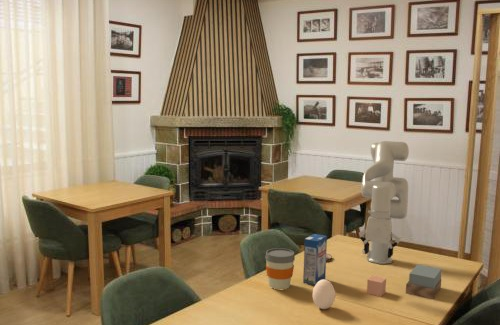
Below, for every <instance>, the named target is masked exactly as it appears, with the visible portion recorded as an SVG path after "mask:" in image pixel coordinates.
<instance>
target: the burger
mask: <svg viewBox="0 0 500 325" xmlns="http://www.w3.org/2000/svg"><path fill="white" fill-rule="evenodd" d="M330 259H331V260H332V254H329V253H327V252H326V263H329V262H330Z"/></svg>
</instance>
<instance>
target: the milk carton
mask: <svg viewBox="0 0 500 325" xmlns="http://www.w3.org/2000/svg"><path fill="white" fill-rule="evenodd" d="M327 243H328V236H327V235H323V234H319V233H313V234H311V235H309V236H308V237H305V238H304V244H303V245H304V250H303V276H302V277H303V278H302V279H303V282H302V283H303V284H305V283H307V284H306V285H310V284H312V285H311V286H314V285H316V284H317V282H318V281H320V280H323V279H325V280H326V272H327V271H326V270H327V269H326V268H327V262H326V253H327V246H328V245H327Z"/></svg>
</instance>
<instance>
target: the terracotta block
mask: <svg viewBox="0 0 500 325" xmlns="http://www.w3.org/2000/svg"><path fill="white" fill-rule="evenodd" d="M366 283H367V285H366V287H367V288H366V294H368V295H372V296H377V297H382V296H383V295H384V294H385V293H386V290H387V287H386V286H387V278H386V277H382V276H377V275H376V276H375V275H371V276H370V277H369V278H367V282H366Z"/></svg>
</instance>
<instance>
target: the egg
mask: <svg viewBox="0 0 500 325" xmlns="http://www.w3.org/2000/svg"><path fill="white" fill-rule="evenodd" d="M312 301H313V303H314V304H315V305H316V307H318V309H321V310H327V309H329V308H331V306H332V305H334V302H335V301H336V291H335V287H334V286H333V284H332V282H331V281H329V280H327V279H326V278H325V279H323V280H320V281H318V282H317V284H316V285H315V286H314V287H313V289H312Z"/></svg>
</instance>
